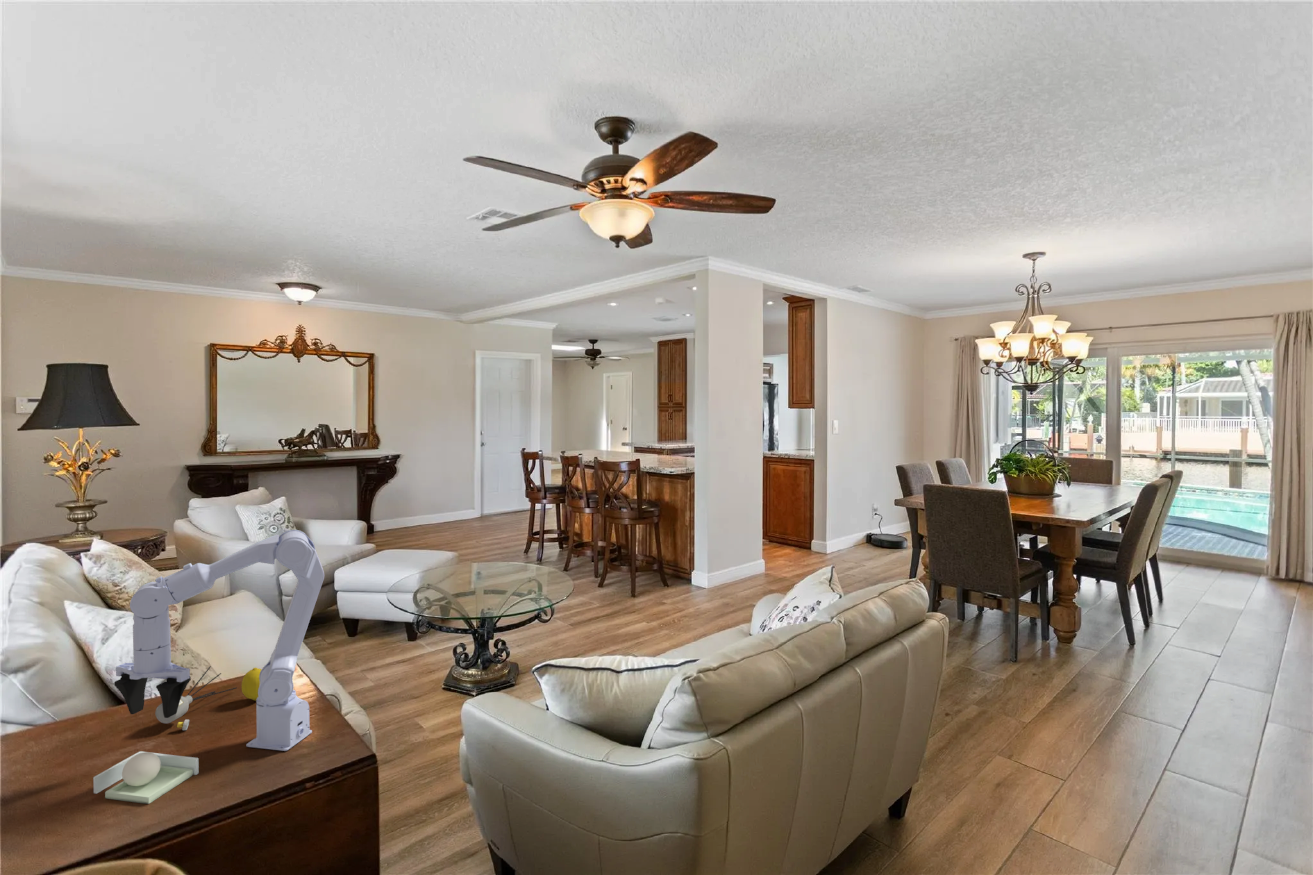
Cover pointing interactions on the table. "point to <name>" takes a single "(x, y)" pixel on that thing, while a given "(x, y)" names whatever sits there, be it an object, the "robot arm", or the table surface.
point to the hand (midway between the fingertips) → (153, 713)
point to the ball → (141, 769)
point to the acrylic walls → (115, 772)
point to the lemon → (251, 684)
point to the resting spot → (150, 786)
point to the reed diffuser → (183, 706)
